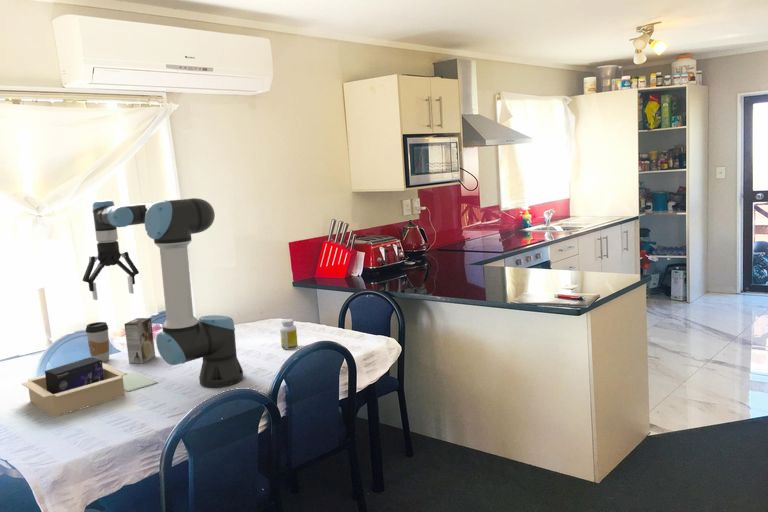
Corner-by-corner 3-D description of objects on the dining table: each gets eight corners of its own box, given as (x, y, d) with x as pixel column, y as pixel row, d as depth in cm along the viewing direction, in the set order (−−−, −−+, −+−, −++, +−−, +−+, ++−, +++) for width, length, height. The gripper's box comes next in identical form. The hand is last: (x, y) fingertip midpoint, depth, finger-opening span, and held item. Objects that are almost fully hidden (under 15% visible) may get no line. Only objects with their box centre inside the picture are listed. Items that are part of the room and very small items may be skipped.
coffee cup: (84, 363, 255) (80, 326, 253) (101, 356, 263) (96, 321, 261) (100, 364, 252) (96, 327, 250) (116, 358, 260) (112, 322, 257)
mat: (158, 382, 228) (158, 381, 228) (128, 392, 220) (127, 390, 220) (131, 371, 243) (131, 370, 242) (102, 379, 235) (101, 378, 235)
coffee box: (141, 356, 262) (137, 317, 259) (155, 356, 260) (151, 317, 258) (128, 363, 253) (123, 323, 250) (143, 363, 251) (138, 323, 249)
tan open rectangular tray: (133, 395, 217) (131, 375, 216) (49, 420, 198) (47, 399, 197) (101, 379, 235) (98, 361, 234) (21, 401, 216) (19, 381, 215)
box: (59, 409, 208) (55, 373, 206) (47, 405, 211) (43, 370, 209) (106, 391, 222) (102, 358, 220) (94, 388, 225) (90, 356, 224)
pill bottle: (300, 346, 264) (299, 319, 262) (290, 351, 259) (288, 323, 257) (288, 344, 268) (286, 317, 266) (278, 349, 262) (276, 321, 260)
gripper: (136, 236, 254) (141, 289, 257) (69, 244, 238) (76, 300, 241) (143, 237, 249) (149, 291, 252) (75, 246, 232) (82, 303, 235)
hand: (113, 296), depth 246 cm, fingers open, 13 cm apart
